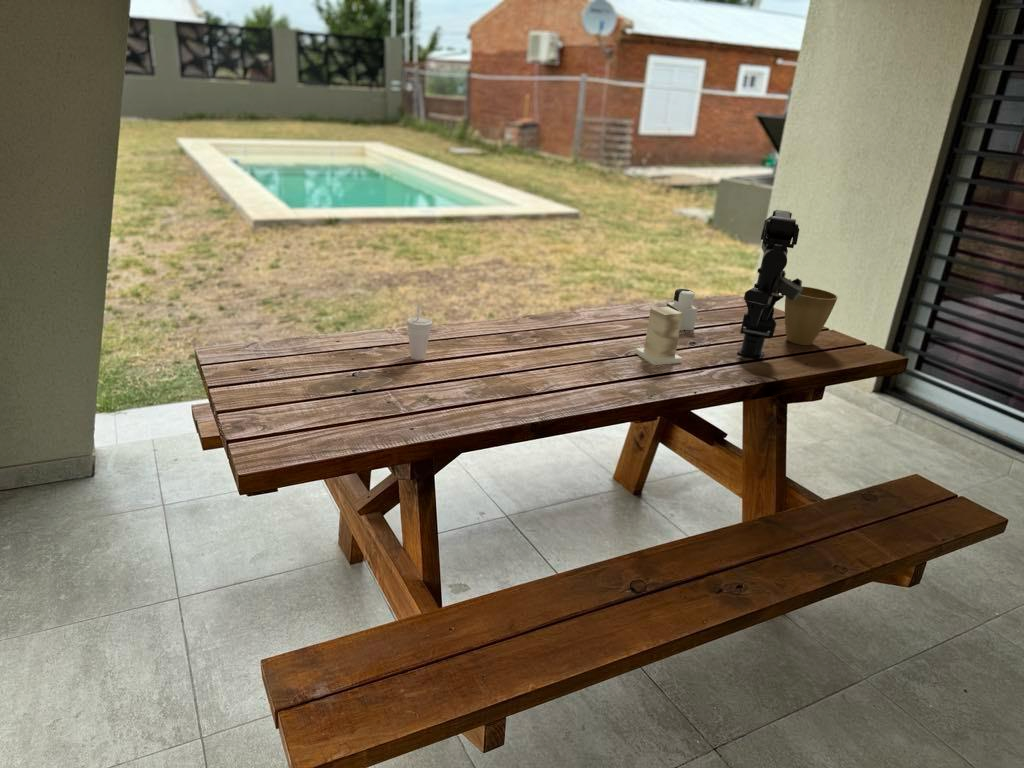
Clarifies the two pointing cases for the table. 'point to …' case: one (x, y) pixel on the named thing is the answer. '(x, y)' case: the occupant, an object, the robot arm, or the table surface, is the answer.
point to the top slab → (658, 361)
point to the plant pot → (807, 314)
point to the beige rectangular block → (663, 331)
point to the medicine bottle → (685, 308)
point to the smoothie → (418, 335)
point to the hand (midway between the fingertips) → (759, 323)
